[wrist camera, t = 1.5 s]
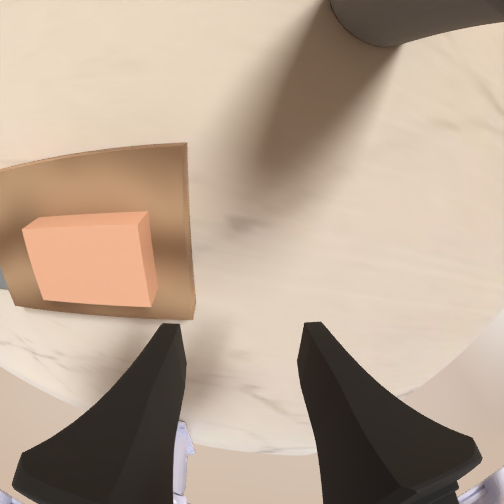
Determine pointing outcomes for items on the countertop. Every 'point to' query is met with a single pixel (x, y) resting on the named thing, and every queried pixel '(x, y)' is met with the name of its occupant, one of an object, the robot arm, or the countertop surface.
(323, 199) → the countertop surface
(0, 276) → the mat
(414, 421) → the robot arm
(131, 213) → the tile
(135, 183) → the board
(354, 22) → the bottle
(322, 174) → the countertop surface
